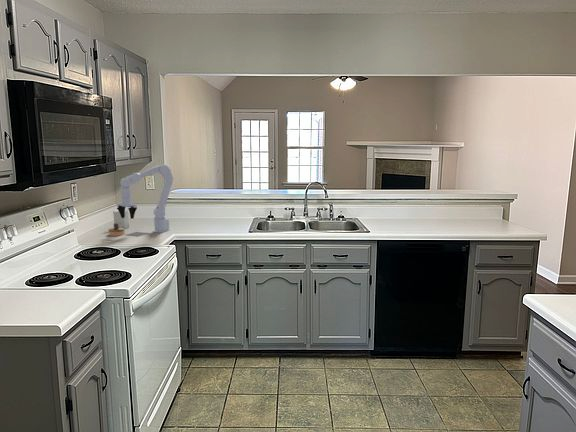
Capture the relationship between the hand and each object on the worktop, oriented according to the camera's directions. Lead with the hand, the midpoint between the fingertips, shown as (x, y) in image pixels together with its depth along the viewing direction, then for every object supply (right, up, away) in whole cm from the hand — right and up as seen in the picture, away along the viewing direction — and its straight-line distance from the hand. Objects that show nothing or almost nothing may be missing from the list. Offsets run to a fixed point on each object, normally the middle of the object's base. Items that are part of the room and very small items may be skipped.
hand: (127, 218), depth 285 cm
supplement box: (-11, -7, +21) cm, 25 cm away
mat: (+6, -11, -1) cm, 13 cm away
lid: (-7, -8, -1) cm, 10 cm away
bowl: (-7, -11, -1) cm, 13 cm away
